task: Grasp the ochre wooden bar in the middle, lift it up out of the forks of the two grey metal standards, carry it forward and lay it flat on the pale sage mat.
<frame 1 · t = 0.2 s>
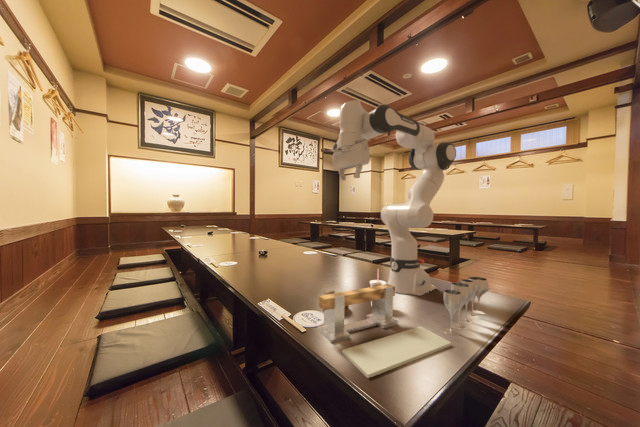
hand: (349, 179, 94), 47 cm above the table, tool pointing down, fingers open, 8 cm apart
rack: (358, 327, 73), on the table
bar: (359, 300, 73), point 8 cm above the table, touching rack
burger: (334, 311, 86), on the table
mat: (398, 349, 62), on the table
beverage cup: (377, 306, 90), on the table
goblet set: (466, 321, 79), on the table
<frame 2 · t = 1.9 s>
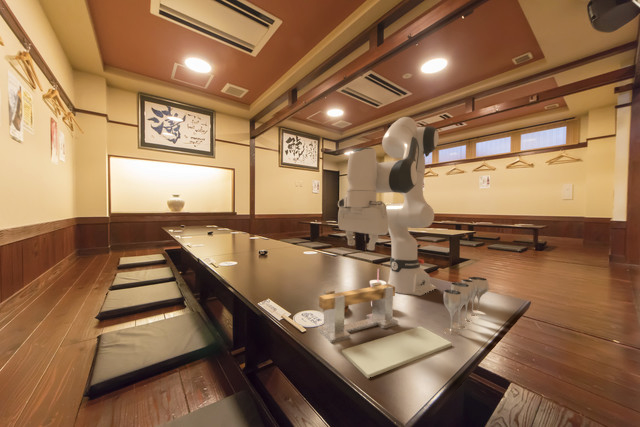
hand: (360, 247, 73), 24 cm above the table, tool pointing down, fingers open, 8 cm apart
nothing on the table moved.
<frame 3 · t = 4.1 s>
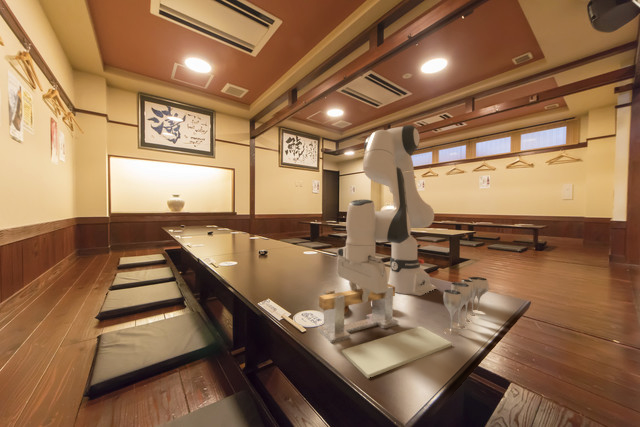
hand: (359, 298, 73), 9 cm above the table, tool pointing down, fingers closed on bar, 3 cm apart
bar: (359, 300, 73), point 8 cm above the table, touching gripper, rack
everything else where it was.
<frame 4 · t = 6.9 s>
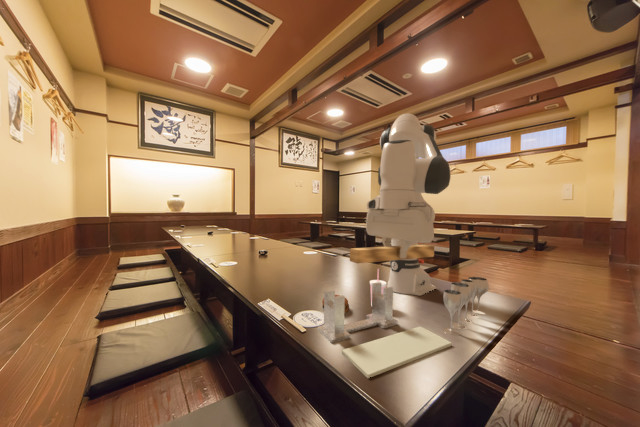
hand: (395, 256, 62), 24 cm above the table, tool pointing down, fingers closed on bar, 3 cm apart
bar: (394, 258, 62), point 23 cm above the table, touching gripper
everything else where it was.
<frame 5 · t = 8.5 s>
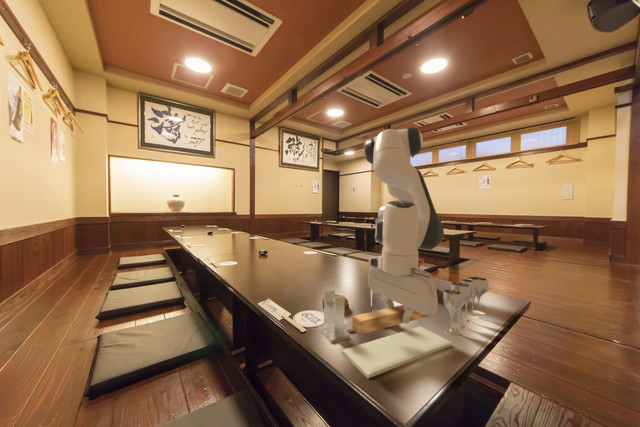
hand: (398, 318, 62), 8 cm above the table, tool pointing down, fingers closed on bar, 3 cm apart
bar: (397, 320, 62), point 7 cm above the table, touching gripper
everything else where it was.
when the fingers open (3 cm above the table, at t = 9.9 s): bar drops 1 cm, resting on mat.
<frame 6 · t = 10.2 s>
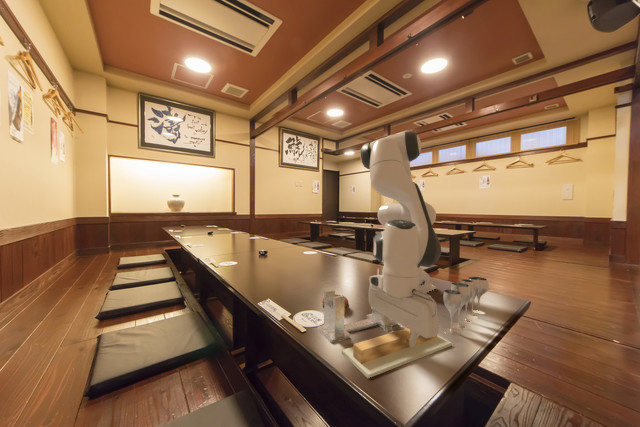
hand: (398, 338, 62), 3 cm above the table, tool pointing down, fingers open, 6 cm apart
bar: (398, 346, 62), point 1 cm above the table, touching mat
everything else where it was.
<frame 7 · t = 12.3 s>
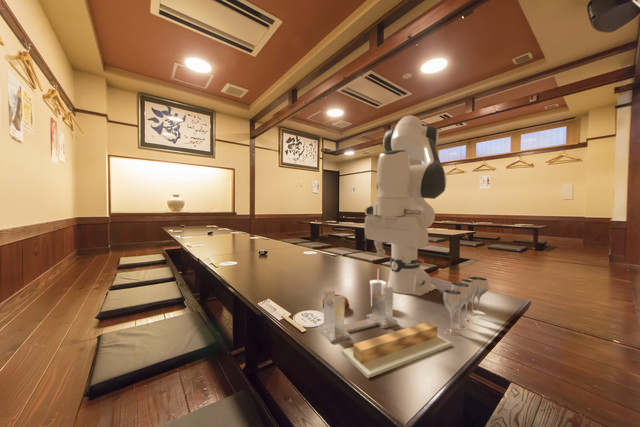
hand: (392, 259, 67), 22 cm above the table, tool pointing down, fingers open, 8 cm apart
nothing on the table moved.
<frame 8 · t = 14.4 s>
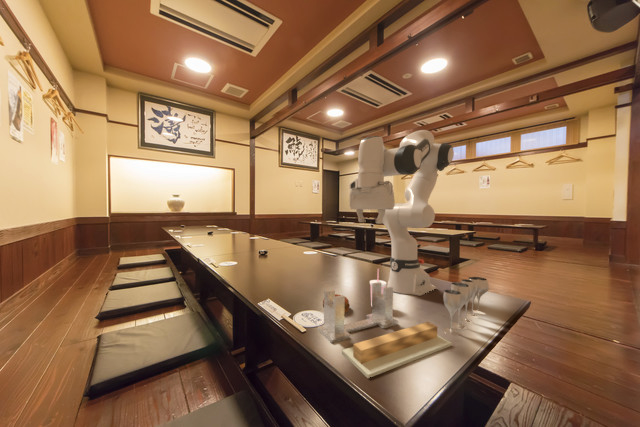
hand: (369, 222, 84), 31 cm above the table, tool pointing down, fingers open, 8 cm apart
nothing on the table moved.
at the end: bar 0.1 cm off-centre on the mat, point 0.8 cm above the mat's base; bar touching mat; the gripper is holding nothing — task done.
